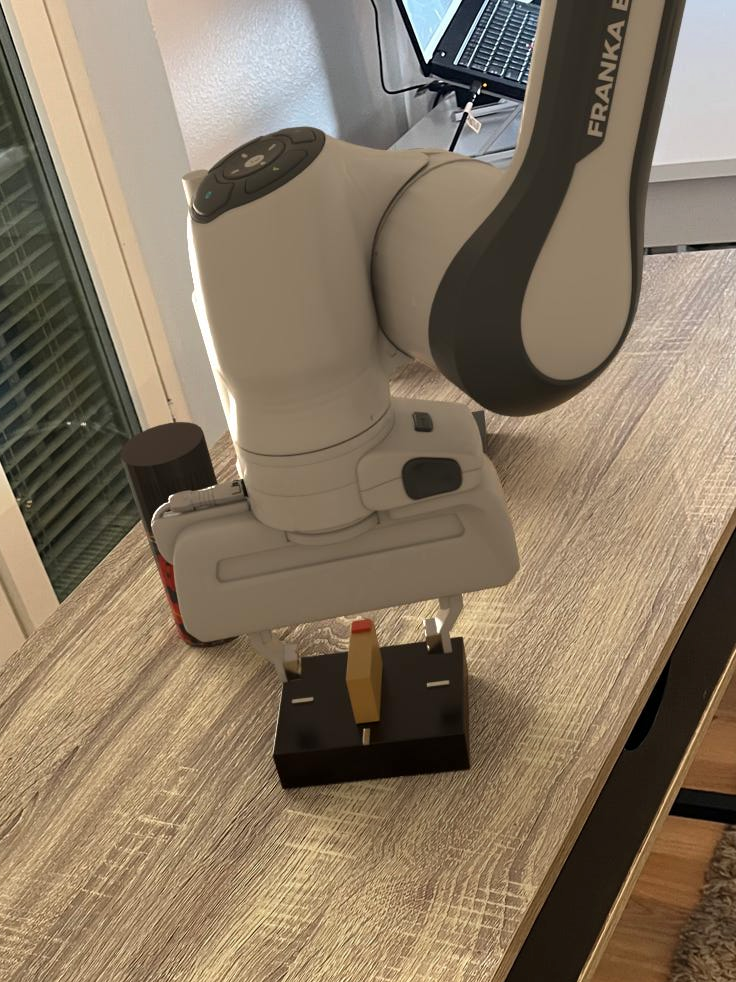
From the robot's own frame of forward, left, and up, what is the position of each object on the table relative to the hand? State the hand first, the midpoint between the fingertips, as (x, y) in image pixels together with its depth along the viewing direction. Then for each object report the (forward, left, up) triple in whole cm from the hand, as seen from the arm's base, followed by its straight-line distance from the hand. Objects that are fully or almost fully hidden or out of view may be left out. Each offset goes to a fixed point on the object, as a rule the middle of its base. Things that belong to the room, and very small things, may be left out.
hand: (365, 662), depth 81 cm
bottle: (+11, -37, -6) cm, 39 cm away
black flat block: (0, 0, -6) cm, 6 cm away
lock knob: (0, 0, -2) cm, 2 cm away
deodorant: (+13, -15, -6) cm, 21 cm away
